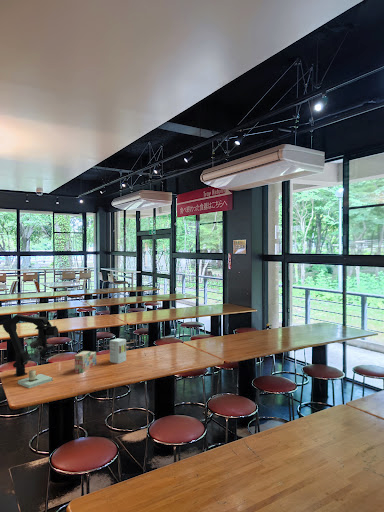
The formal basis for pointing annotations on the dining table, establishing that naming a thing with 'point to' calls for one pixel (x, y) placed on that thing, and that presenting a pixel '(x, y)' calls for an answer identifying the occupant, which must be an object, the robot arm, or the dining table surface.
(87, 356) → the beige multicoloured rectangular block
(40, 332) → the robot arm
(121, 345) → the supplement box
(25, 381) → the board
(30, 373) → the peg
